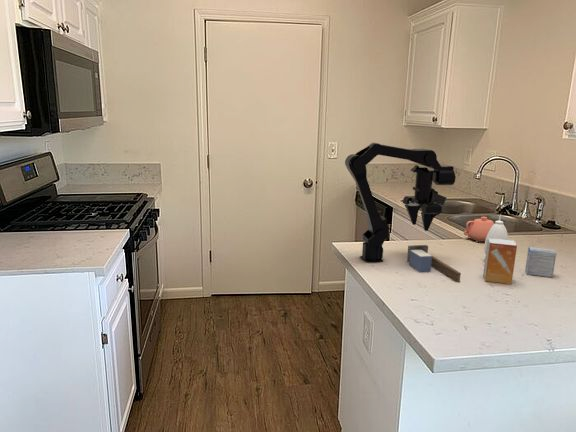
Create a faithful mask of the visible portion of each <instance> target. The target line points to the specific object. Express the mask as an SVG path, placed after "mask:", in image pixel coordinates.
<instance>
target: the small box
mask: <svg viewBox="0 0 576 432" xmlns="http://www.w3.org/2000/svg"><path fill="white" fill-rule="evenodd" d="M517 248H518V245H517V243H516V241H515V240H510V239H509V240H503V239H491V238H488V241H487V249H486V254H485V257H484V264H483V265H484V267H483V273H482V275H483V279H484V281H485V282H493V283H497V284H507V285H512V284H513V279H514V278H513V277H514V269H515V264H516V263H515V262H516V255H517V251H518V250H517Z"/></svg>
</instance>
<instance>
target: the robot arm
mask: <svg viewBox="0 0 576 432" xmlns="http://www.w3.org/2000/svg"><path fill="white" fill-rule="evenodd" d="M377 156H383V157H389V158H397V159H400V160H401V159H402V160H407V161H409V162H413V163H415V165H414V166H413V167H412V168H411V169H410V172H412V173H415V182H414V183H415V186H412V190H413V191H414V195H405V196H404V197H403V199H402V204H404V207H405V209H406V211H407V213H408V217H409V218H410V219H409V220H410V221H411V224H412V225H413V226H414V225H416V224H417V221H418V215H419V211H420V210H421V211H420V215H421V221H422V225H423V230H424V231H425V232H427V231H429V229H430V227H431V224H432V222H433V220H434V219H435V218H436V216H439V215H440V214H442V213H443V208H444V207H443V206H444V205H445V203H446V201H447V197H446V196H443V195H441V194H439V191H437V190H435V188H434V187H433V183H434V184H435V185H436V186H454V184H455V182H456V172H455V170H454V166H452V165H446V166H445V165H443V166H441V164H440V162H439V161H438V159H437V157H438V156H437V154H436V151H434V150H432V149H427V148H405V147H397V146H391V145H385V144H381V143H377V142H371V143H369V145H367V146H366V147H364V148H363V149H360V150H359V151H357V152H356V153H352V154H349V155H348V156H347V157H346V158H345V160H344V164H345V165H344V166H345V167H346V169H347V170H348V172H349V174H350V176H351V177H352V179H353V181H354V182H355V184H356V188H357V191H358V194H359V196H360V199H361V201H362V205H363V208H364V210H365V213H366V217H367V228H368V229H367V230H366V231H365V232H363V234H362V235H361V236H362V240H363V242H362V252H361V254H362V255H360V256H359V257H360V258H361V259H362V260H363V261H364V262H366V263H377V262H379V263H381V262H384V260H383V256H384V247H383V245H384V244H385V243H384V242H385V241H386V240H387V239H388V238H389V235H390V230H391V228H390V227H389V225H388V219H387V218H386V217H384V216H383V215H380V214H379V213H380V212H379V211H378V207H377V205H376V202H375V199H374V196H373V192H372V191H371V187H370V184H369V182H368V177H367V175H368V171H367V165H368V164H369V163H371V162H372V161H373V160H374V159H375V158H376V157H377ZM419 165H421V166H423V167H421V166H419ZM424 166H425V167H424ZM428 168H430V169H428Z"/></svg>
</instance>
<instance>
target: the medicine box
mask: <svg viewBox="0 0 576 432" xmlns="http://www.w3.org/2000/svg"><path fill="white" fill-rule="evenodd" d="M556 257H557V252H556V251H555V250H554V248H553V249H552V248H551V249H550V248H541V247H531V246H528V248H527V255H526V261H525V262H526V263H525V273H526V275H527V276H528V275H530V276H537V277H538V276H539V277H546V278H547V277H548V278H554V271H555V265H556V259H557V258H556Z"/></svg>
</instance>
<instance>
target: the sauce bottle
mask: <svg viewBox="0 0 576 432" xmlns="http://www.w3.org/2000/svg"><path fill="white" fill-rule="evenodd" d="M501 217H502V215H501V213H500V214H499V217H498V220H495V223H494V225H493V226H492V227H491V229H490V230H489V232H488V234H487V237H486V240H485V242H484V254H485V255H486V249H487V241H488V238H491V239H503V240H510V239H509V234H508V230H507V228H506V226H505V225H504V221H502V220H501Z"/></svg>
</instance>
